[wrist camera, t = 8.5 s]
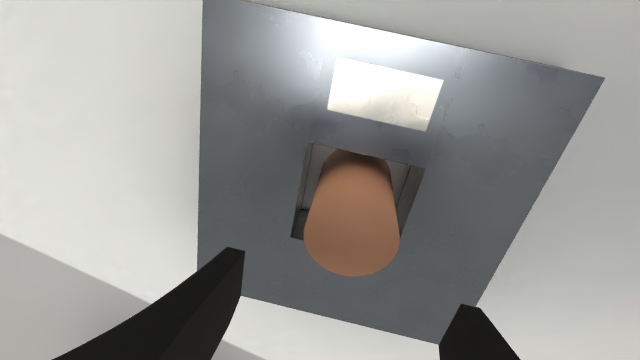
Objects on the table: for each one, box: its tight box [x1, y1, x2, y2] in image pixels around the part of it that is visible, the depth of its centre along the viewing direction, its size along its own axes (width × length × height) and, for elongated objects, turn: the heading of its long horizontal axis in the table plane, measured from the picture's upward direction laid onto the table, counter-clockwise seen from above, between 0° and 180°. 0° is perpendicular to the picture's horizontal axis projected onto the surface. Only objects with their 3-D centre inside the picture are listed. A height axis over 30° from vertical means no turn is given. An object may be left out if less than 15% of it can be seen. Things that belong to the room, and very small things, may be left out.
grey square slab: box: [197, 0, 605, 345], centre depth 18 cm, size 16×16×3 cm
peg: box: [304, 149, 400, 276], centre depth 16 cm, size 4×4×6 cm
